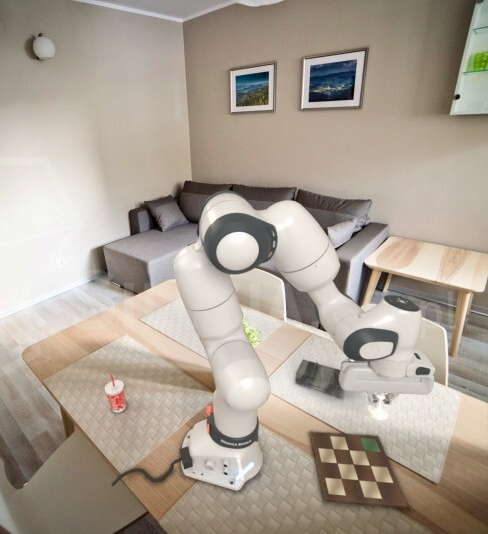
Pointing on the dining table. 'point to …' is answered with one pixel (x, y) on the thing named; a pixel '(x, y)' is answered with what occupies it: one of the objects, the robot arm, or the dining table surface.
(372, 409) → the chess piece
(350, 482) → the game board
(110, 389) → the beverage cup
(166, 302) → the dining table surface
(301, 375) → the stone block
